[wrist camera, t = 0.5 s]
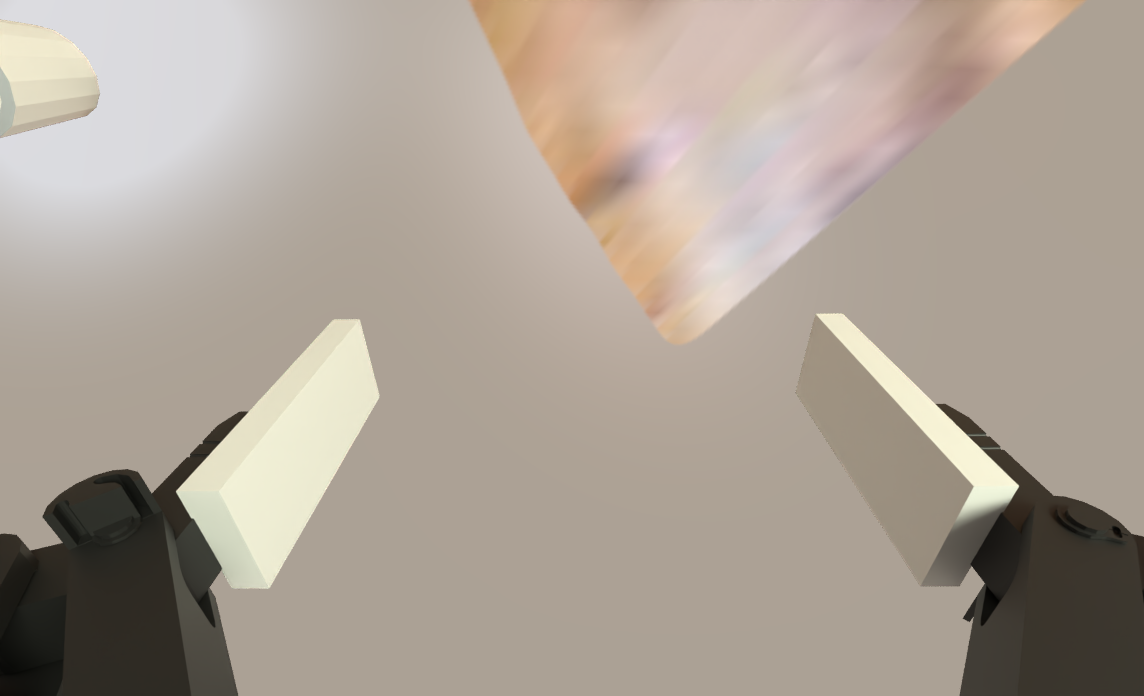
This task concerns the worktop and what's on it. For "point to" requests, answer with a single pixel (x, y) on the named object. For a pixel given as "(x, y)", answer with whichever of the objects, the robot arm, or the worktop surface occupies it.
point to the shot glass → (42, 79)
